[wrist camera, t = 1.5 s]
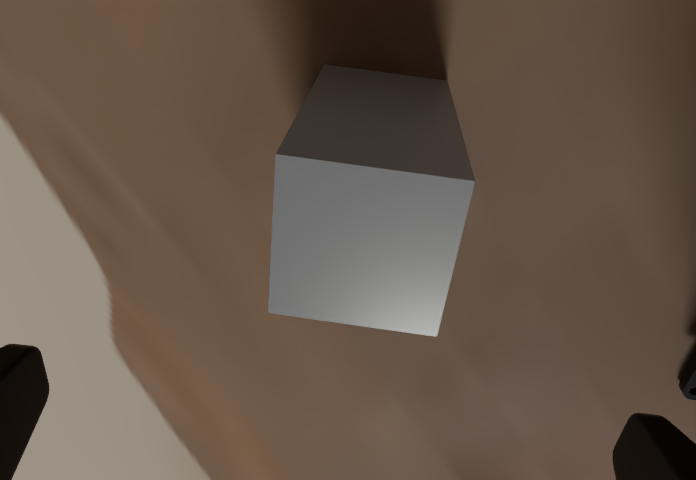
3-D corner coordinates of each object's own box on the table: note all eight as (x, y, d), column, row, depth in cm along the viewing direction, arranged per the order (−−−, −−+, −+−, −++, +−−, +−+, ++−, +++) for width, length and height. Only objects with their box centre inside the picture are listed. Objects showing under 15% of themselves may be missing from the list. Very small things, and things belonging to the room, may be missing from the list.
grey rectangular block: (447, 80, 18) (475, 181, 11) (425, 192, 20) (436, 336, 13) (324, 64, 18) (275, 154, 11) (314, 177, 20) (268, 312, 13)
